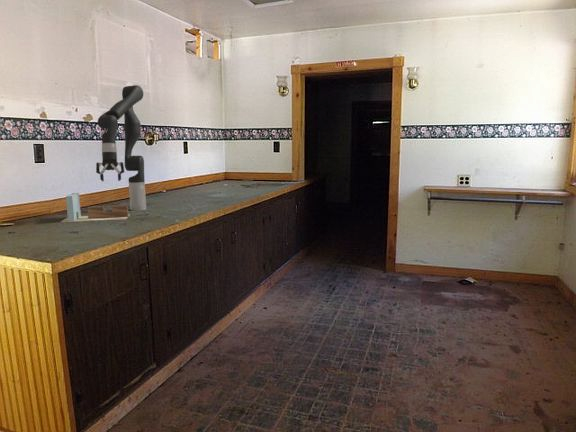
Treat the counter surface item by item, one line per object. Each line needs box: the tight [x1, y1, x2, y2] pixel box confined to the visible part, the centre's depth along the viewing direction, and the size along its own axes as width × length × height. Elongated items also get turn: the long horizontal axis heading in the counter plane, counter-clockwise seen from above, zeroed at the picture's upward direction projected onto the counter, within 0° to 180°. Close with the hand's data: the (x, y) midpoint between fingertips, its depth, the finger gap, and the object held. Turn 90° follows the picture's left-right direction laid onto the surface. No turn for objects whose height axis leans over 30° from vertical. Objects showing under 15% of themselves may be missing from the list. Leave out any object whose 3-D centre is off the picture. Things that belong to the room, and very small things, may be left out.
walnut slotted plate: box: [87, 205, 129, 219], centre depth 232 cm, size 2×20×6 cm, turn 103°
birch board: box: [60, 213, 131, 223], centre depth 232 cm, size 16×32×1 cm, turn 103°
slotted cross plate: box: [65, 192, 82, 222], centre depth 228 cm, size 14×3×13 cm, turn 13°
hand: (110, 181), depth 240 cm, fingers open, 8 cm apart
